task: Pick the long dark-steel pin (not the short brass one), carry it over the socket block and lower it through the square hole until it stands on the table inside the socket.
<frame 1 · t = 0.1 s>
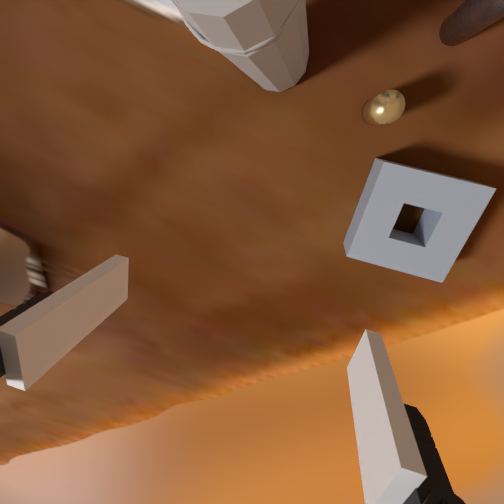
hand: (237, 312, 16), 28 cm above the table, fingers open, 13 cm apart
socket block: (403, 214, 38), on the table
long pin: (455, 28, 30), on the table
water bottle: (278, 50, 34), on the table
short pin: (375, 111, 35), on the table
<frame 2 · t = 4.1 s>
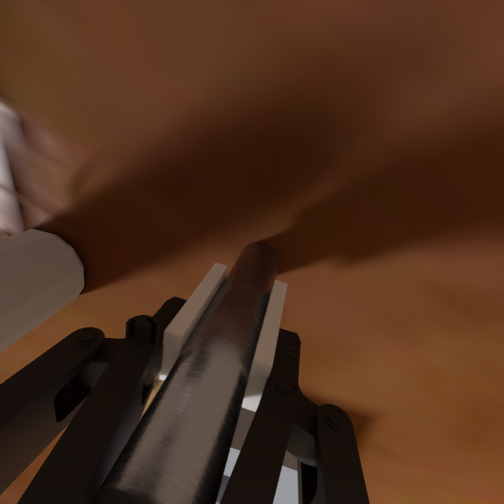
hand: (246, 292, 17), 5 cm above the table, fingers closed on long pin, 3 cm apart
socket block: (244, 438, 30), on the table
long pin: (259, 261, 22), on the table, touching gripper
water bottle: (53, 253, 26), on the table
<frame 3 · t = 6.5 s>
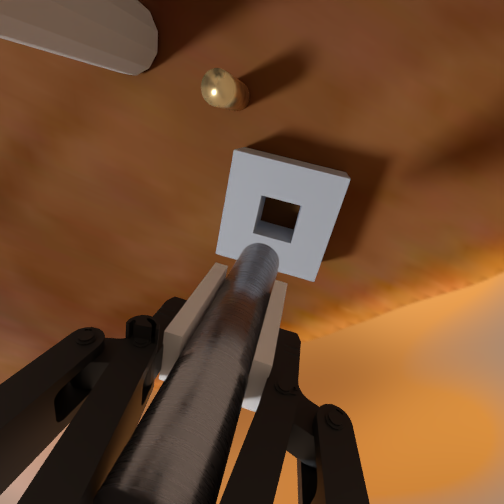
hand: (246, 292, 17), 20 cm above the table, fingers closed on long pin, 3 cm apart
socket block: (281, 208, 36), on the table
long pin: (259, 261, 22), point 16 cm above the table, touching gripper
water bottle: (130, 29, 32), on the table
short pin: (236, 96, 32), on the table
when the fingers open (6 cm above the table, at t = 9.1 s): long pin drops 1 cm, resting in socket block.
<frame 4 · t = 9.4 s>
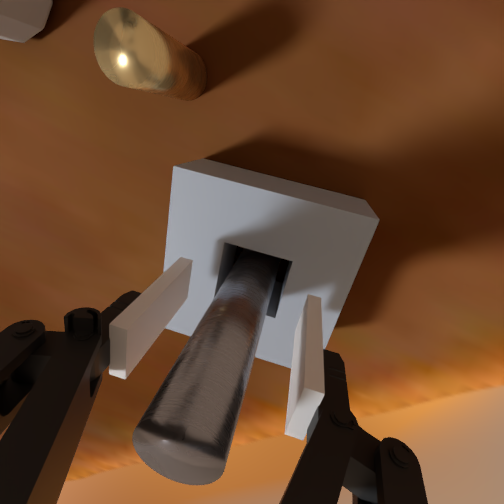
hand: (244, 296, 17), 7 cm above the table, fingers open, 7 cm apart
socket block: (263, 252, 23), on the table
long pin: (263, 252, 23), resting in socket block
short pin: (186, 75, 19), on the table
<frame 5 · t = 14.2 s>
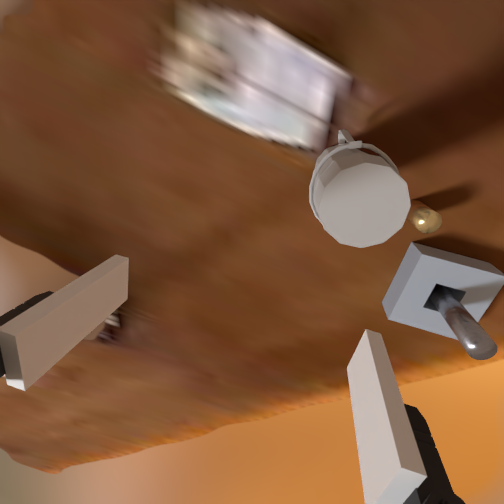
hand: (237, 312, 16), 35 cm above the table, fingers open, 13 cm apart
socket block: (432, 283, 48), on the table
long pin: (431, 283, 48), resting in socket block
water bottle: (337, 162, 44), on the table
short pin: (412, 209, 44), on the table
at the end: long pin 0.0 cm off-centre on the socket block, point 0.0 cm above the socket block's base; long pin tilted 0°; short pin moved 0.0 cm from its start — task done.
